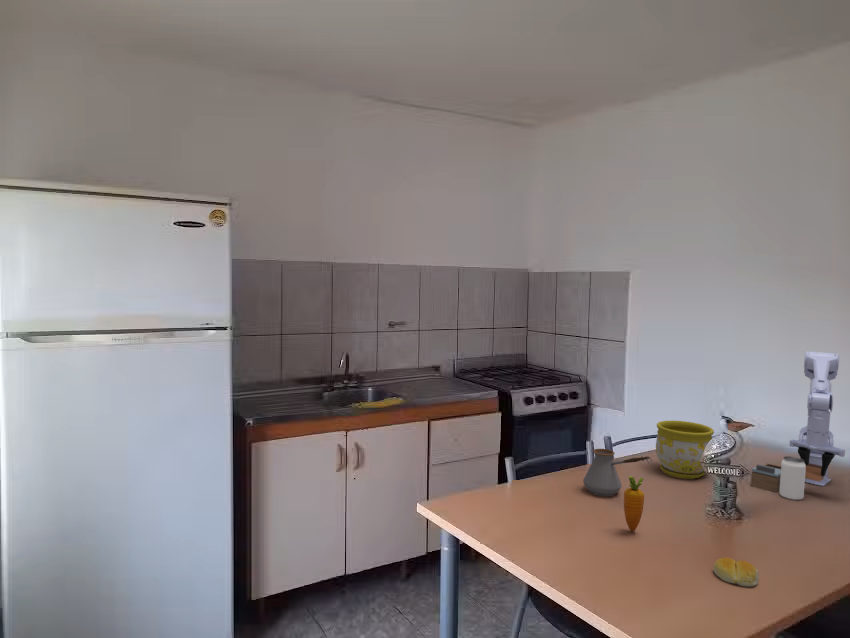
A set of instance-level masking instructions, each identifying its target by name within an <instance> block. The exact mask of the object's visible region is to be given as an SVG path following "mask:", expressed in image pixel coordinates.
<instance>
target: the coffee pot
mask: <svg viewBox="0 0 850 638" xmlns="http://www.w3.org/2000/svg"><path fill="white" fill-rule="evenodd" d="M592 452H593V453H594V458H593V460H592V462H591V464H590V466H589V468H588V470H587V472H586V473H585V476H584V478H583V481H582V482H583V485H584V487H585V488H586V489H587V490H588V491H589V493H591V494H593V495H595V496H600V497H612V496H614V495H616V494H617V493H618V492H619V491H620V490H621V488H622V487H623V486H622V482H621V480H620V477H619V474H618V472H617V469H616V468H617V467H616V465H621V464H628V463H637V462H640V461H642V462H643V461H645V460H646V462H647V464H652V463H653V459H652V458H651V457H650V456H640V457H632V458H628V459H623V460H617V461H613V457H614V455H615V454H616V453H615V451H614V450H612V449H611V450H610V449H606V448H595V449H593V451H592ZM649 459H650V462H649V461H648V460H649Z"/></svg>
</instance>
